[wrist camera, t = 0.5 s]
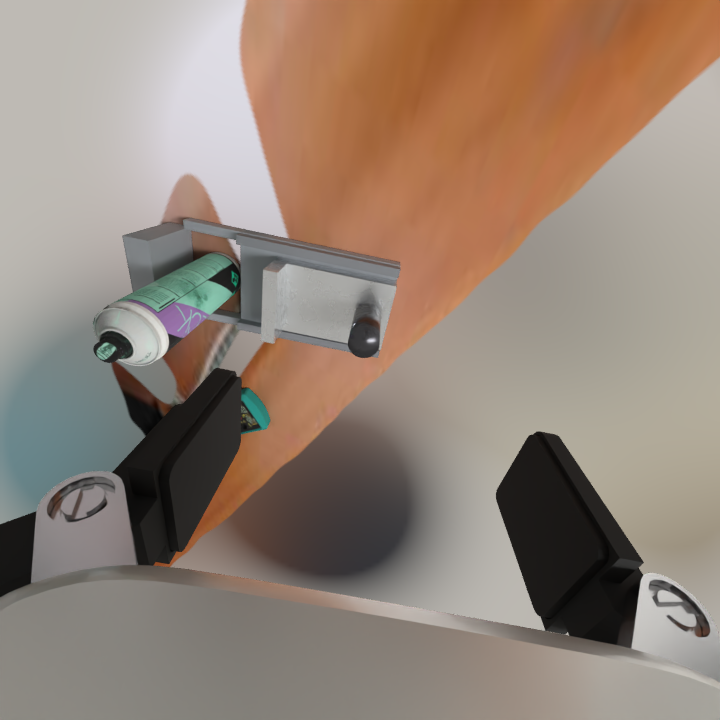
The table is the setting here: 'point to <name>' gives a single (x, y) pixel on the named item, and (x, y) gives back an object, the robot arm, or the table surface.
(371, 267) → the vise frame
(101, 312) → the spray can
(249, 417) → the digital multimeter
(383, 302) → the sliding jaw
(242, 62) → the table surface
